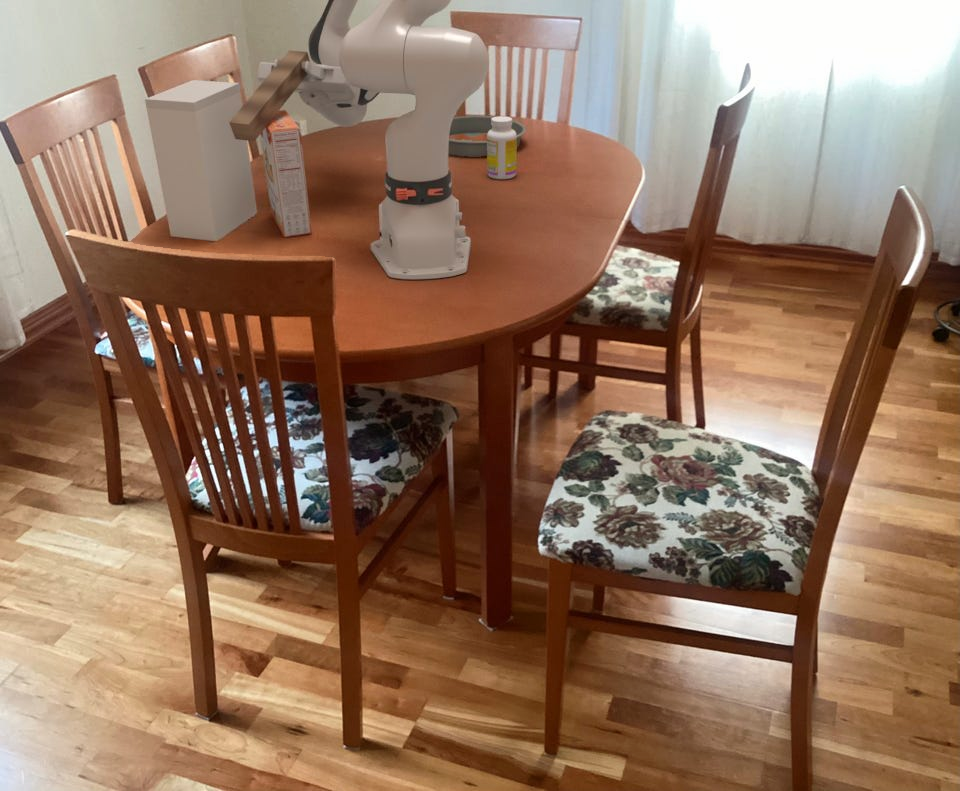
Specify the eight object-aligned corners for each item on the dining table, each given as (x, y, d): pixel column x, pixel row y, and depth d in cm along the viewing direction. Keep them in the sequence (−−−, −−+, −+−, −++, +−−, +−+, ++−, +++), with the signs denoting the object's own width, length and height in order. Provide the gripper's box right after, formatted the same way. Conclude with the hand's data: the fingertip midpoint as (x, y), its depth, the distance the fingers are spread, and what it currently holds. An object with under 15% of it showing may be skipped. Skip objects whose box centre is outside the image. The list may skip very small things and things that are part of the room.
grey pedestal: (214, 209, 191) (193, 80, 178) (257, 213, 189) (239, 83, 175) (170, 236, 178) (144, 99, 165) (216, 241, 176) (193, 102, 162)
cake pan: (495, 165, 217) (495, 146, 214) (409, 151, 227) (408, 132, 225) (542, 140, 235) (543, 122, 233) (460, 128, 246) (460, 110, 243)
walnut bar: (294, 66, 180) (289, 50, 178) (312, 68, 179) (307, 51, 176) (235, 139, 166) (229, 122, 164) (254, 141, 165) (248, 124, 163)
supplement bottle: (517, 171, 212) (518, 115, 205) (515, 180, 206) (516, 123, 200) (488, 171, 212) (488, 114, 206) (485, 180, 207) (485, 122, 200)
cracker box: (269, 215, 188) (255, 111, 177) (298, 211, 190) (287, 108, 179) (281, 238, 177) (268, 129, 166) (312, 234, 178) (301, 126, 168)
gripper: (277, 70, 191) (244, 45, 178) (368, 75, 186) (341, 50, 173) (273, 100, 191) (240, 77, 178) (364, 107, 186) (337, 84, 173)
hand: (290, 64), depth 175 cm, fingers closed on walnut bar, 4 cm apart
